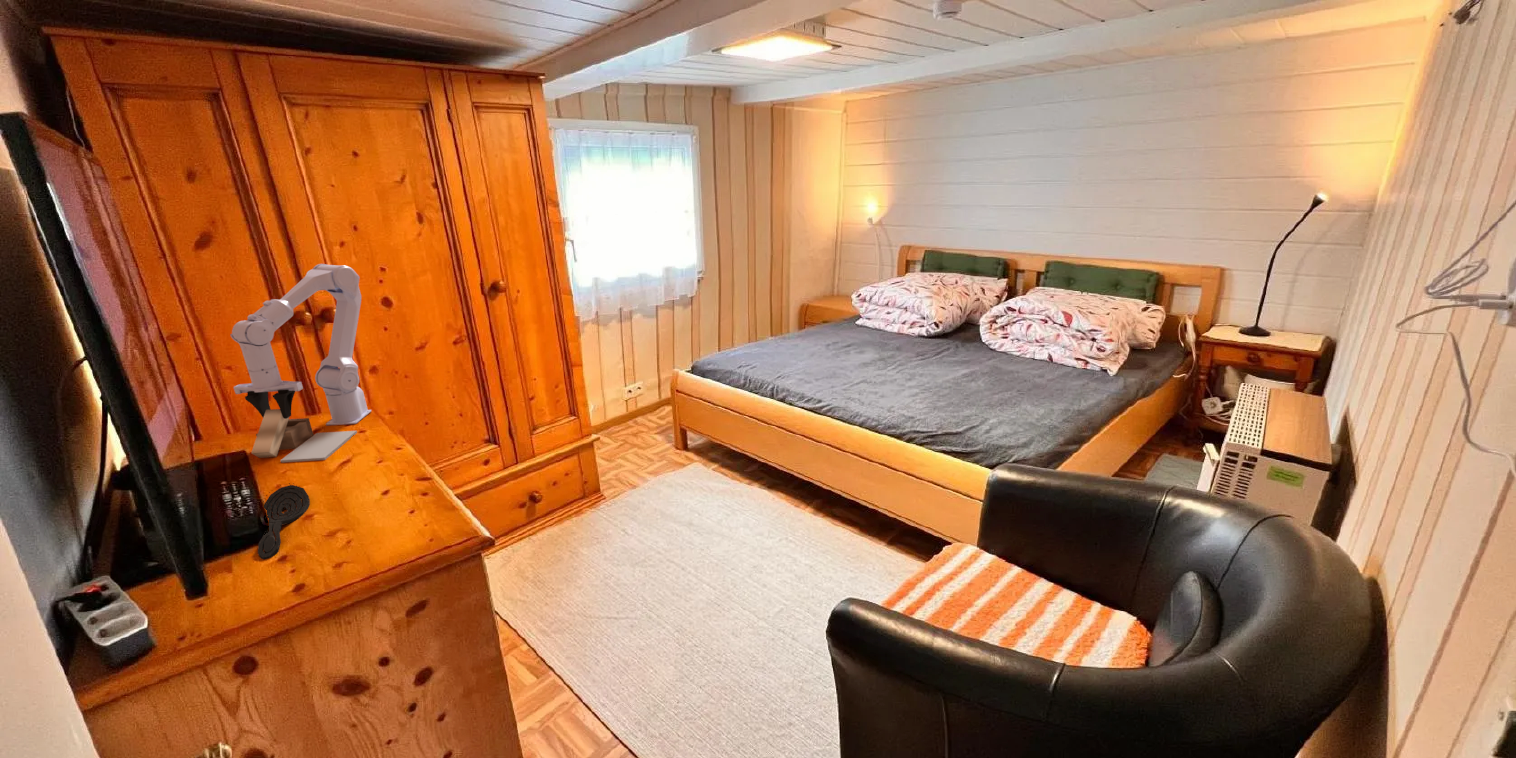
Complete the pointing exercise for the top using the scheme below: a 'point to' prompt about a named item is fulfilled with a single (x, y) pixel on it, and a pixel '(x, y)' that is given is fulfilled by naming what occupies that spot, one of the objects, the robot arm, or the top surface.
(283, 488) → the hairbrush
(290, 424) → the holder
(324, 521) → the top surface
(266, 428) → the bar
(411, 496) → the top surface
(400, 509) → the top surface
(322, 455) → the mat
